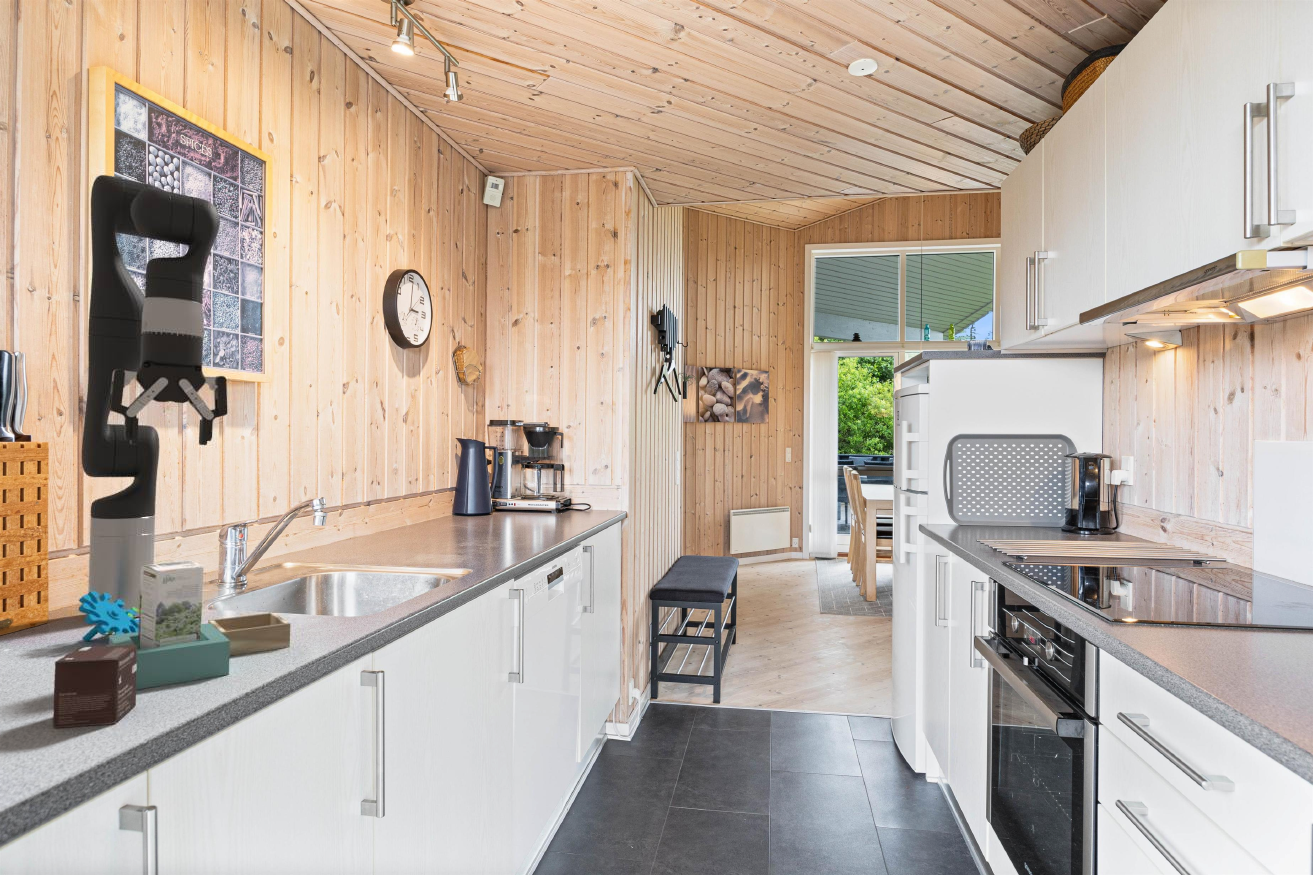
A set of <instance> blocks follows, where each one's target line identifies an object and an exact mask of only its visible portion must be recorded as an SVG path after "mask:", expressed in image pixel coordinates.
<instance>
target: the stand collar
mask: <svg viewBox="0 0 1313 875" xmlns="http://www.w3.org/2000/svg"><path fill="white" fill-rule="evenodd" d="M207 623H211V624H212V625H213V626H214V627H215V628H216V629H218V630H219V631H220V632H221V633H222V634H223V635H224V636H225V637H226V638H227V639H229V640H230V656H229V657H231V656H236V655H243V654H244V655H245V654H250V653H255V652H257V653H258V652H262V651H263V652H264V651H268V650H269V651H270V650H276V649H282V648H289V647H291V623H290V622H288V621H287V620H286V619H284V618H282V617H281V616H280V615H278V614H276V613H275V612H266V613H265V612H264V613H259V614H258V613H257V614H249V615H240V616H233V617H225V618H223V617H222V618H215V619H214V618H213V619H209V620H208V621H207Z"/></svg>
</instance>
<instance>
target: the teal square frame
mask: <svg viewBox="0 0 1313 875" xmlns="http://www.w3.org/2000/svg"><path fill="white" fill-rule="evenodd" d="M121 645H137V654H136V655H137V664H136V666H137V668H136V691H137V690H142V689H147V688H148V689H150V688H155V687H161V686H167V685H172V684H178V683H179V684H180V683H184V682H185V683H186V682H191V681H197V680H203V679H209V678H216V677H221V676H227V675H230V657H231V656H230V640H229V639H227V638H226V637H225V636H224V635H223V634H222V633H221V632H220V631H219V630H218V629H216V628H215V627H214V626H213V625H212V624H211V623H208V622H207V623H201V641H198V642H191V643H183V644H176V645H168V646H161V647H154V648H146V649H139V650H138V632H134V633H126V634H123V633H122V634H118V635H114V634H109V637H108V646H121Z"/></svg>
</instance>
